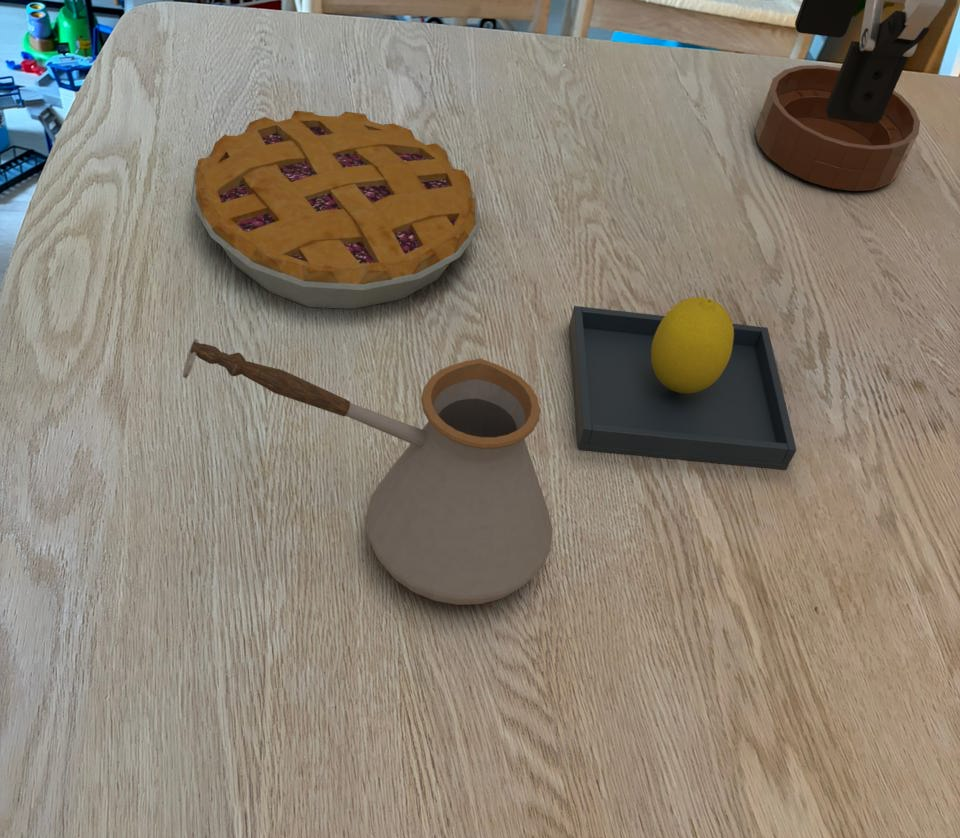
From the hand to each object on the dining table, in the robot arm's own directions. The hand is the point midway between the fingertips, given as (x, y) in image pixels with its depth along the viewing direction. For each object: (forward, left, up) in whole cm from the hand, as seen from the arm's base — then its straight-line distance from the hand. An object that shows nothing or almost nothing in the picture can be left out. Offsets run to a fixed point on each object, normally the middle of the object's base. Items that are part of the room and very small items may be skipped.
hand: (834, 73), depth 63 cm
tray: (+4, +4, -22) cm, 23 cm away
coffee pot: (+25, +21, -23) cm, 40 cm away
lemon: (+4, +4, -22) cm, 23 cm away
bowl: (-15, -33, -22) cm, 43 cm away
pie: (+30, -11, -23) cm, 39 cm away
